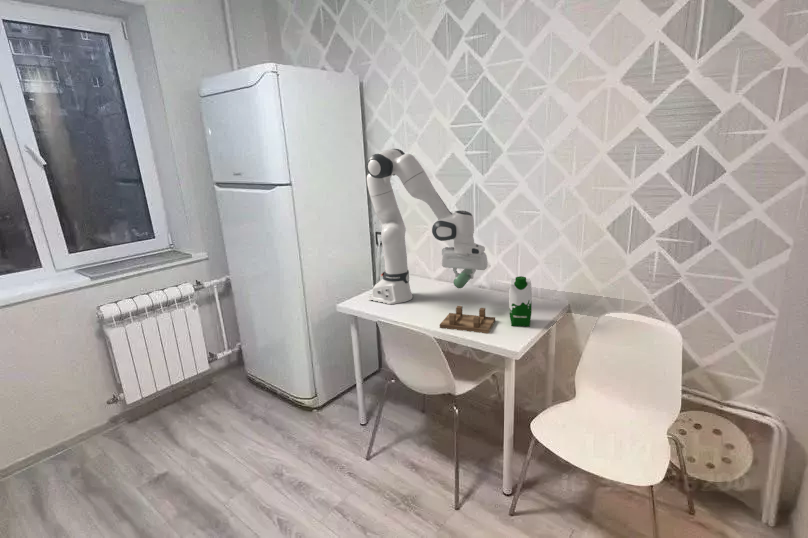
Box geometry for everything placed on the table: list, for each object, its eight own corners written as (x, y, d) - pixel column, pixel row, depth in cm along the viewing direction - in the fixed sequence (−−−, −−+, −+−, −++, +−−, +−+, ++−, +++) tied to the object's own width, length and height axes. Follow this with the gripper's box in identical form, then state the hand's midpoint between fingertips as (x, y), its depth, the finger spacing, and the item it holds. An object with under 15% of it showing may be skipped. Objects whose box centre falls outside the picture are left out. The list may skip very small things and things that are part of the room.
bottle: (466, 281, 178) (457, 275, 179) (460, 290, 181) (451, 283, 182) (478, 269, 195) (469, 263, 196) (472, 277, 197) (463, 271, 198)
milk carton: (509, 327, 168) (509, 279, 162) (508, 318, 176) (509, 272, 171) (532, 327, 165) (532, 279, 160) (530, 318, 174) (531, 272, 169)
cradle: (488, 333, 163) (487, 320, 162) (439, 327, 171) (439, 315, 170) (495, 320, 174) (495, 308, 173) (449, 316, 183) (449, 304, 181)
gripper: (439, 248, 185) (440, 278, 189) (485, 250, 177) (484, 281, 180) (443, 245, 190) (444, 274, 194) (488, 247, 182) (488, 277, 186)
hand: (464, 277), depth 187 cm, fingers closed on bottle, 5 cm apart
